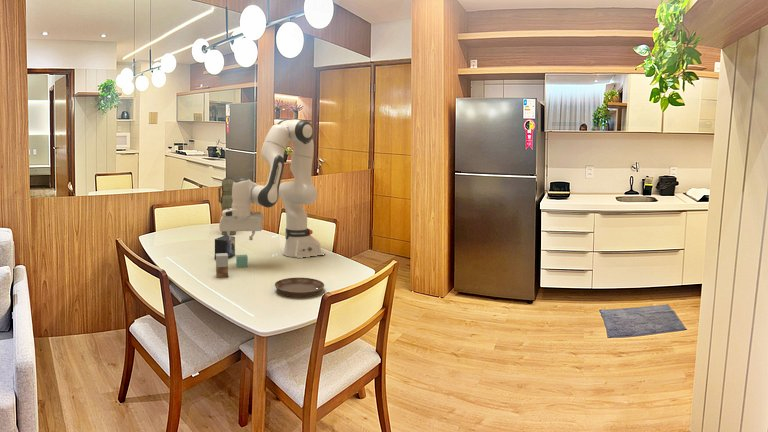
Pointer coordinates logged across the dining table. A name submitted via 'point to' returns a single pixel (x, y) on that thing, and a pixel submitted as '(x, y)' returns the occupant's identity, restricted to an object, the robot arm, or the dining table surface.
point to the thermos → (226, 198)
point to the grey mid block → (222, 260)
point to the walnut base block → (221, 272)
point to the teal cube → (241, 260)
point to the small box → (225, 246)
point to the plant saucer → (299, 287)
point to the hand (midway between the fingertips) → (240, 240)
